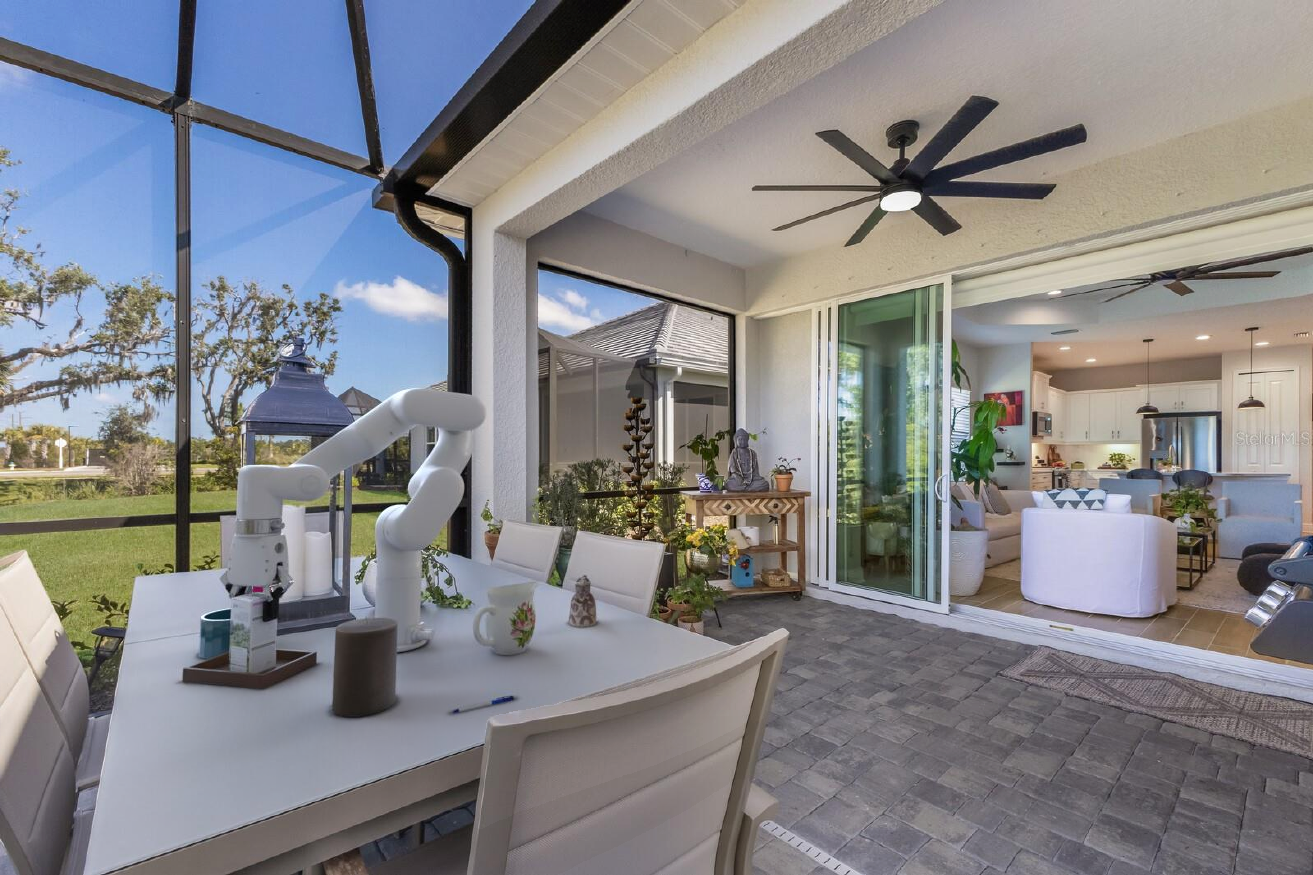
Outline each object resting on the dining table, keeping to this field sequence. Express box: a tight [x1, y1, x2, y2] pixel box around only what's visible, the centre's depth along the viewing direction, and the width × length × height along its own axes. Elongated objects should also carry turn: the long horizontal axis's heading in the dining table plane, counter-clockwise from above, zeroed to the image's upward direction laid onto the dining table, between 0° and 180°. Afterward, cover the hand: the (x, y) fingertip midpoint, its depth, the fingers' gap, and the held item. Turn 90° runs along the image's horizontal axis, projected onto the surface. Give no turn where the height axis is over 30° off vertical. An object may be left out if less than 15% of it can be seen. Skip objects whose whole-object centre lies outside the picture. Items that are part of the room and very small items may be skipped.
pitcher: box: [472, 581, 540, 656], centre depth 127 cm, size 11×18×14 cm, turn 146°
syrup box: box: [229, 592, 278, 673], centre depth 112 cm, size 6×6×14 cm
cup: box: [198, 607, 231, 660], centre depth 125 cm, size 11×11×8 cm
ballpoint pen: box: [452, 695, 515, 714], centre depth 99 cm, size 10×1×1 cm, turn 126°
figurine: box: [568, 574, 597, 628], centre depth 150 cm, size 7×7×12 cm
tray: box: [181, 648, 318, 690], centre depth 112 cm, size 17×13×2 cm
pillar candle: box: [331, 616, 398, 718], centre depth 98 cm, size 10×10×15 cm
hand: (254, 618), depth 113 cm, fingers closed on syrup box, 6 cm apart
